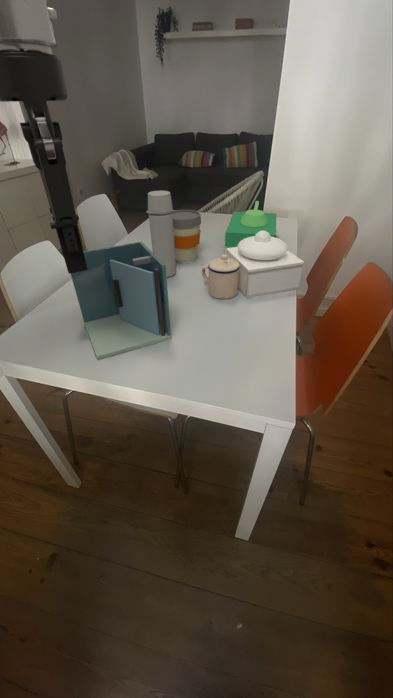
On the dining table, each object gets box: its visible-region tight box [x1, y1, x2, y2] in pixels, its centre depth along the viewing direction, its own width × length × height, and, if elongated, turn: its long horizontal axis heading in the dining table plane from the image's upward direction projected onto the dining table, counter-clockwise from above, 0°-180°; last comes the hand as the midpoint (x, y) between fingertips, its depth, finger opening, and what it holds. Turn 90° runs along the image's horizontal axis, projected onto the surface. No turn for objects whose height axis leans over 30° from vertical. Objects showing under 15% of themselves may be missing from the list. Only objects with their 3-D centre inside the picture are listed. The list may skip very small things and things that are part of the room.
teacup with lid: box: [201, 253, 240, 300], centre depth 93 cm, size 12×9×12 cm
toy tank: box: [224, 200, 277, 249], centre depth 127 cm, size 18×12×35 cm
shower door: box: [109, 260, 160, 335], centre depth 75 cm, size 13×2×16 cm, turn 55°
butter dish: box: [224, 231, 305, 298], centre depth 96 cm, size 18×18×16 cm
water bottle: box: [145, 190, 177, 279], centre depth 100 cm, size 9×8×25 cm
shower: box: [70, 241, 172, 360], centre depth 75 cm, size 18×16×19 cm
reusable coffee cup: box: [171, 209, 202, 262], centre depth 114 cm, size 12×13×15 cm
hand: (77, 269), depth 47 cm, fingers closed
